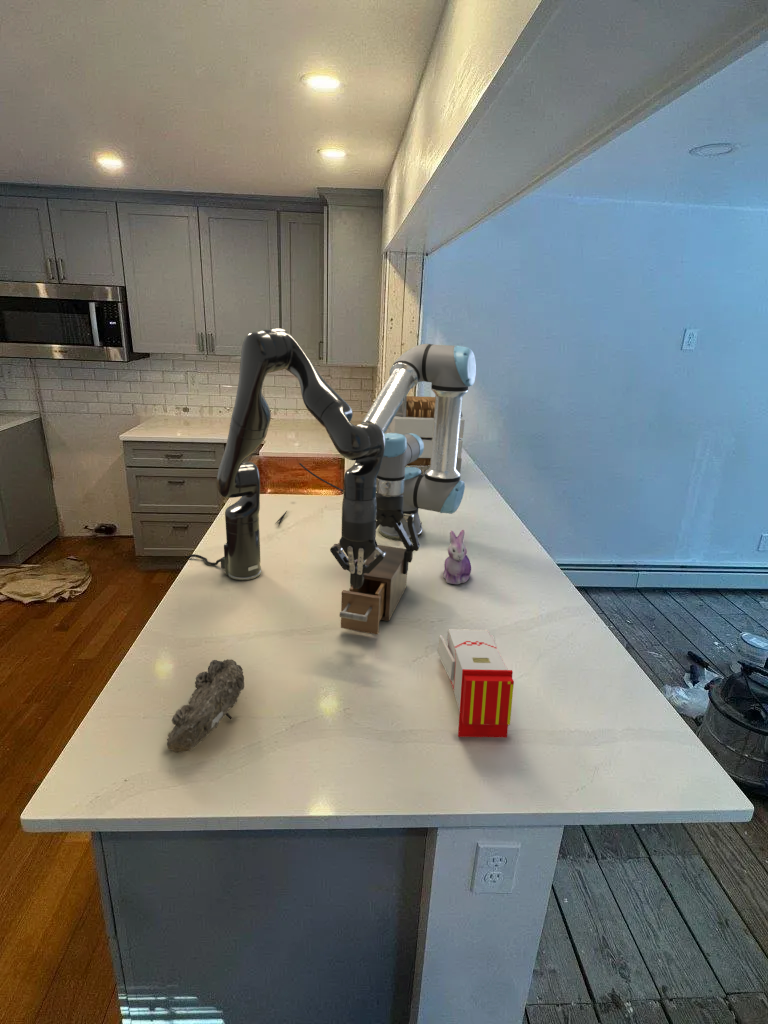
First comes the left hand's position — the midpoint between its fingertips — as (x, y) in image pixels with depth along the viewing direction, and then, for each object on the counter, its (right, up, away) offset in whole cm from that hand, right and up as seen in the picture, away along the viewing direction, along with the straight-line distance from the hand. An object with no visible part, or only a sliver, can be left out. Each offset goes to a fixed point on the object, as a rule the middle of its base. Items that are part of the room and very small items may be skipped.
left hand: (357, 587), depth 129 cm
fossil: (-27, -22, -21) cm, 40 cm away
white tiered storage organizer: (+23, +36, +146) cm, 152 cm away
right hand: (+7, +1, +28) cm, 29 cm away
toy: (+24, -21, -10) cm, 33 cm away
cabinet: (+5, -7, +25) cm, 27 cm away
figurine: (+28, -3, +40) cm, 48 cm away
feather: (-31, +16, +84) cm, 91 cm away
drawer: (+2, -10, +14) cm, 17 cm away
